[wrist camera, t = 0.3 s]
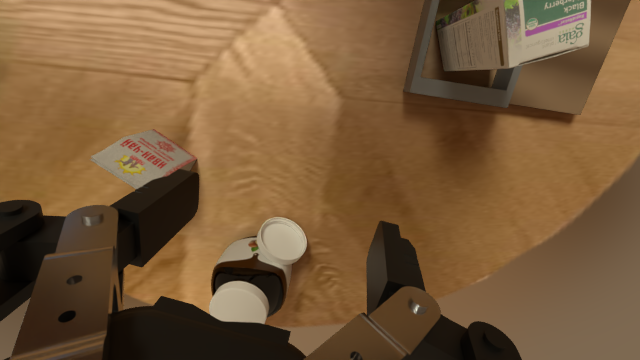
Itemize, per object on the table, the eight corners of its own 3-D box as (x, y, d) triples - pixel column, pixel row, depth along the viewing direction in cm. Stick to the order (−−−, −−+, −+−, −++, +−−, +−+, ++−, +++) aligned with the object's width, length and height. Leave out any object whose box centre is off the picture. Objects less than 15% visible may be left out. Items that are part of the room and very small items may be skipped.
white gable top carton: (185, 178, 42) (140, 207, 32) (142, 150, 41) (83, 171, 31) (197, 158, 41) (154, 182, 31) (154, 129, 40) (96, 144, 30)
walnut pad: (535, -11, 32) (545, -16, 30) (618, 2, 32) (631, -2, 30) (497, 101, 36) (503, 102, 34) (570, 113, 36) (580, 114, 34)
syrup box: (486, 4, 33) (593, -51, 19) (492, 59, 34) (595, 45, 21) (434, 21, 33) (500, -19, 20) (443, 74, 35) (509, 71, 21)
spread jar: (231, 273, 46) (197, 333, 35) (228, 208, 43) (190, 253, 32) (306, 280, 46) (295, 343, 35) (310, 216, 42) (300, 263, 31)
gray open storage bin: (432, -33, 32) (443, -46, 28) (533, -17, 32) (555, -29, 28) (403, 91, 36) (409, 92, 33) (491, 105, 36) (507, 107, 33)
